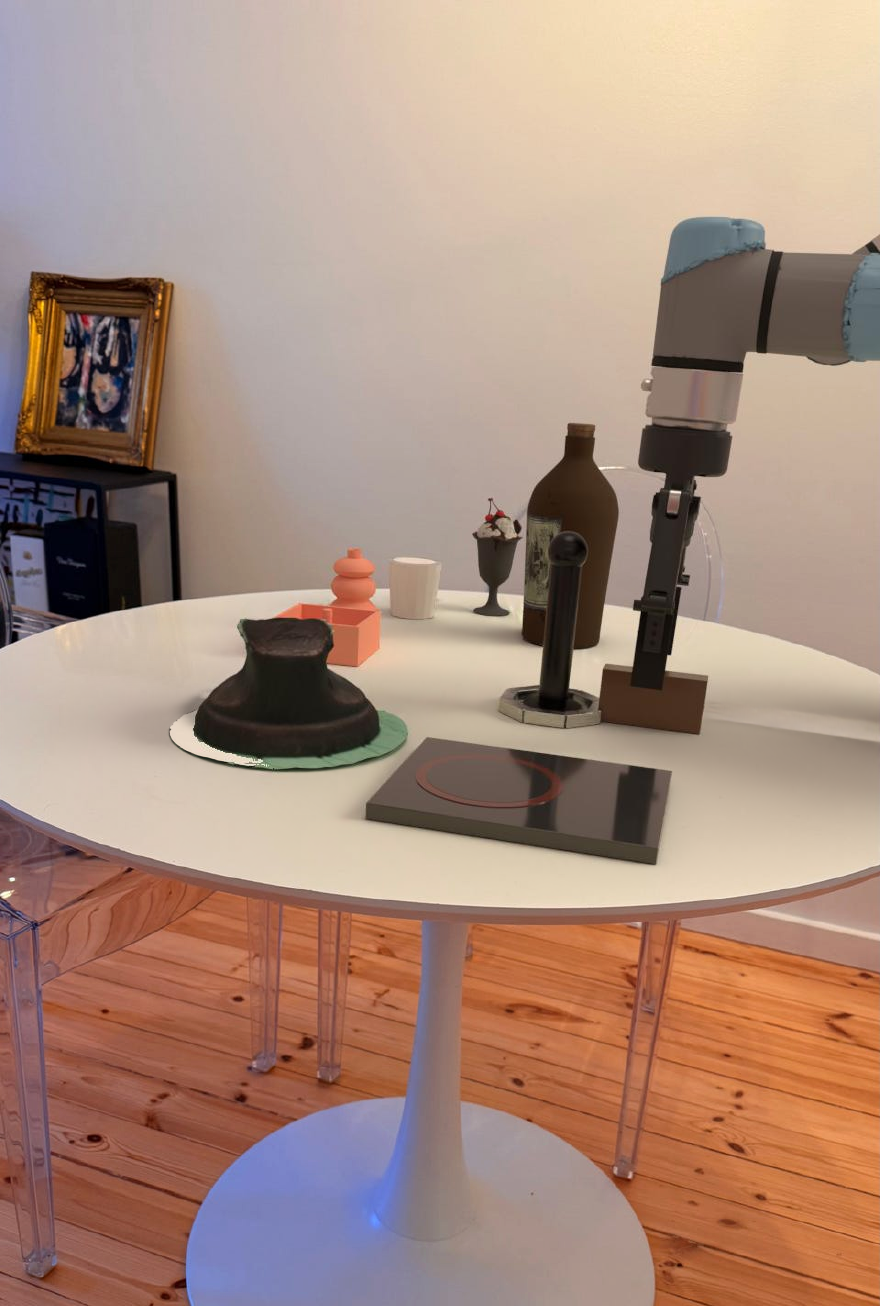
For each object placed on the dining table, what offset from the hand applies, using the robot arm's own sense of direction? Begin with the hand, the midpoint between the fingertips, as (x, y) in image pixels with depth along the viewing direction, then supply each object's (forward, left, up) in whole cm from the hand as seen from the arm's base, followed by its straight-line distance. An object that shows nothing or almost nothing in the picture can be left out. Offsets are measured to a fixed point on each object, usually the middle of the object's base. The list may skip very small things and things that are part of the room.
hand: (651, 669), depth 99 cm
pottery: (+36, -16, -5) cm, 40 cm away
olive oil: (+13, -31, -5) cm, 34 cm away
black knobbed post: (+9, 0, -5) cm, 10 cm away
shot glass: (+33, -36, -5) cm, 49 cm away
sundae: (+24, -43, -5) cm, 49 cm away
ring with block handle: (+4, 0, -5) cm, 7 cm away
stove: (+7, +24, -5) cm, 25 cm away
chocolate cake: (+29, +16, -5) cm, 33 cm away
